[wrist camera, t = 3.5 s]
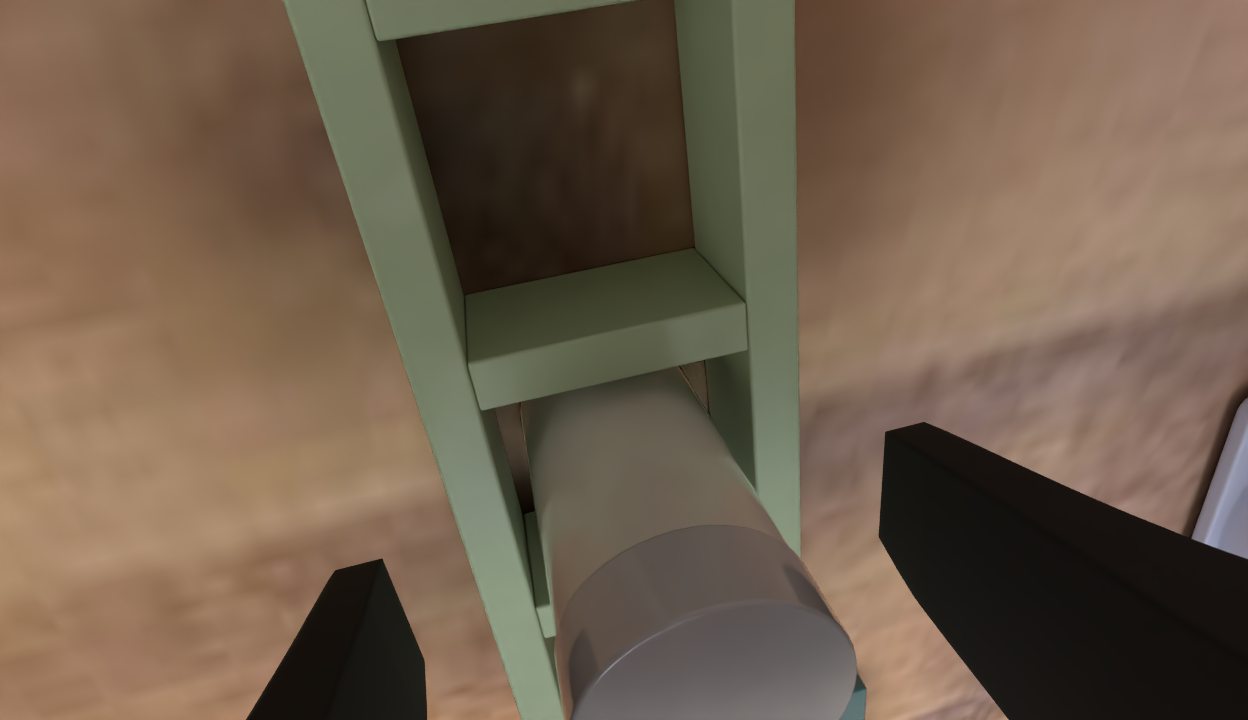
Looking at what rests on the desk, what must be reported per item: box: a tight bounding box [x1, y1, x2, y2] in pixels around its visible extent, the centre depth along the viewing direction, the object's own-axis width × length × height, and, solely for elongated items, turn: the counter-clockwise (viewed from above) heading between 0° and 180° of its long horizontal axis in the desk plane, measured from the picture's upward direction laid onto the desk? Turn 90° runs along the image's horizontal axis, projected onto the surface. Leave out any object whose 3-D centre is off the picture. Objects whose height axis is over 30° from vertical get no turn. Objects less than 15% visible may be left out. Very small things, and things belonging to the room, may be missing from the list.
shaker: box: [520, 366, 857, 720], centre depth 10 cm, size 3×3×6 cm
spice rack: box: [283, 0, 801, 720], centre depth 12 cm, size 6×15×2 cm, turn 8°
